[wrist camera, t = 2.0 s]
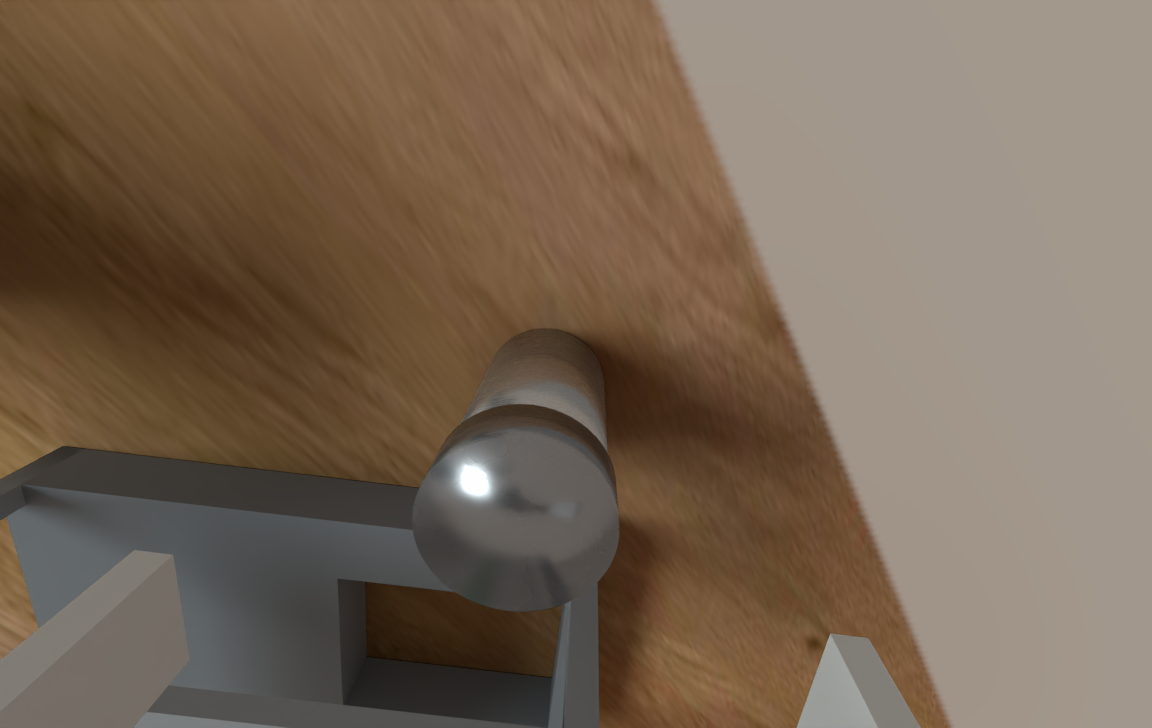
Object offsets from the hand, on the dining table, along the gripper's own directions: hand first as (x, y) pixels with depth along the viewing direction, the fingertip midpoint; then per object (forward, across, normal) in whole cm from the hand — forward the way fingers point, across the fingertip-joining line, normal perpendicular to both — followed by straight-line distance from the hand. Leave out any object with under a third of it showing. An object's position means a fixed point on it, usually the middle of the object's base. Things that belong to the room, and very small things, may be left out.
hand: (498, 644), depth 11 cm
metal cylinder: (+13, 0, 0) cm, 13 cm away
